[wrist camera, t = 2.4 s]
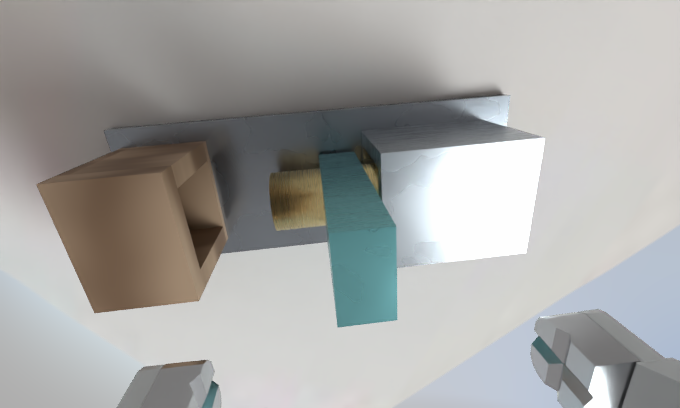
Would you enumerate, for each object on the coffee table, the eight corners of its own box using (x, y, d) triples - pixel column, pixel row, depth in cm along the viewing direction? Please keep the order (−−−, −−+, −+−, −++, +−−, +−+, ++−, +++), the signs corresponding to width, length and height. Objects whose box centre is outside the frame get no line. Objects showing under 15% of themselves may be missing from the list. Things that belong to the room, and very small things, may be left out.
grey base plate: (504, 94, 19) (585, 105, 13) (490, 219, 22) (551, 270, 17) (110, 128, 18) (20, 155, 12) (153, 256, 21) (97, 324, 15)
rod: (500, 137, 19) (667, 197, 10) (494, 194, 20) (636, 290, 12) (273, 159, 18) (241, 243, 9) (282, 216, 20) (261, 336, 11)
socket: (208, 138, 18) (160, 172, 12) (230, 233, 21) (198, 301, 15) (125, 146, 18) (35, 184, 12) (156, 241, 20) (94, 313, 14)
